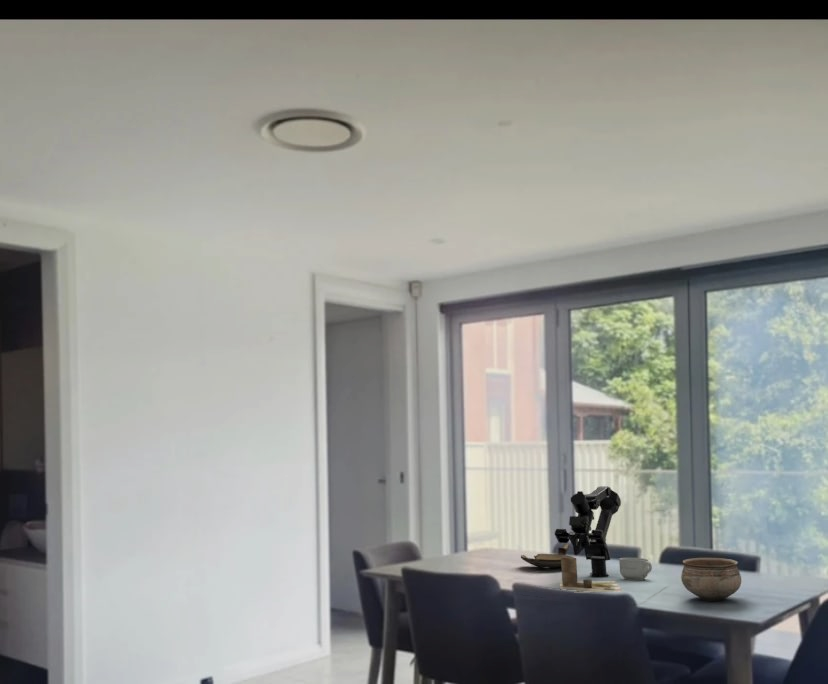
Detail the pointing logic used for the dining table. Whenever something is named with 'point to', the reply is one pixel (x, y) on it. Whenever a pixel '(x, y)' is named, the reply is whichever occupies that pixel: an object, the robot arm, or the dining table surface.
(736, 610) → the dining table surface
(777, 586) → the dining table surface
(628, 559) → the teacup
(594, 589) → the dial board
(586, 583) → the brown piece
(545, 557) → the oil lamp
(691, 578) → the cooking pot
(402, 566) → the dining table surface
